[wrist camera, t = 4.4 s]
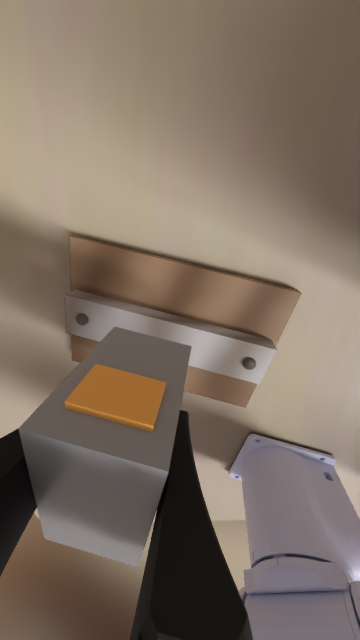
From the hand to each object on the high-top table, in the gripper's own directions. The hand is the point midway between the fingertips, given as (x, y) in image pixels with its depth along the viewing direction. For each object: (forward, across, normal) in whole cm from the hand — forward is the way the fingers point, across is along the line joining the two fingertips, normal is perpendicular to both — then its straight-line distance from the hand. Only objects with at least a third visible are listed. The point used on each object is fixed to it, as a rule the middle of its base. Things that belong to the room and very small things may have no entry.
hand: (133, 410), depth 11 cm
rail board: (+9, 0, -1) cm, 9 cm away
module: (+2, 0, 0) cm, 2 cm away
